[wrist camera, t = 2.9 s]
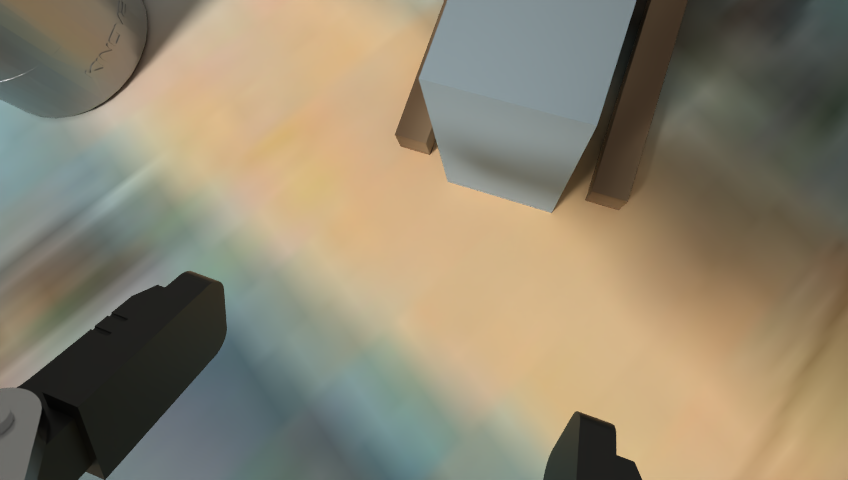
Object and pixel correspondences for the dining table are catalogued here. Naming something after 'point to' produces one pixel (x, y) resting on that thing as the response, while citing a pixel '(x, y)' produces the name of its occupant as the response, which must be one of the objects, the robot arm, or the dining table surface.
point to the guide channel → (627, 116)
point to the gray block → (520, 90)
